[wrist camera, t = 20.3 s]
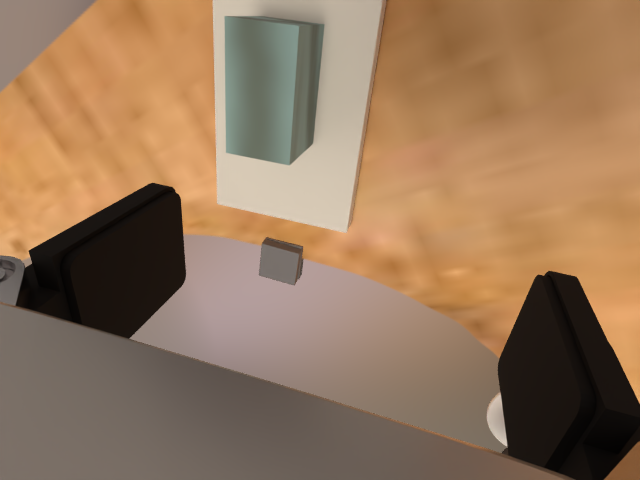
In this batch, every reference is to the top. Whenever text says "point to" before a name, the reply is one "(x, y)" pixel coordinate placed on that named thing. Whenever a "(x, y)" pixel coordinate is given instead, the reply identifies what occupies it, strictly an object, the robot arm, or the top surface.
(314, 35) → the block
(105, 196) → the top surface
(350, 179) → the board
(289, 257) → the chip
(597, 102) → the top surface
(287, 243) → the chip
